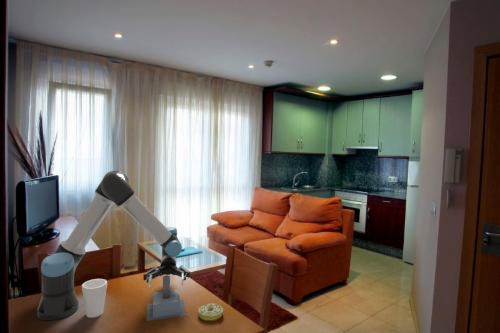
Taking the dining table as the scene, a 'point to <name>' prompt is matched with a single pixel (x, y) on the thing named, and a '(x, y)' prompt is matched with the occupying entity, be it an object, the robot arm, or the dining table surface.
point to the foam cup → (94, 296)
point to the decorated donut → (210, 312)
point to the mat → (150, 316)
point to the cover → (166, 301)
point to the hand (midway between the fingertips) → (166, 283)
